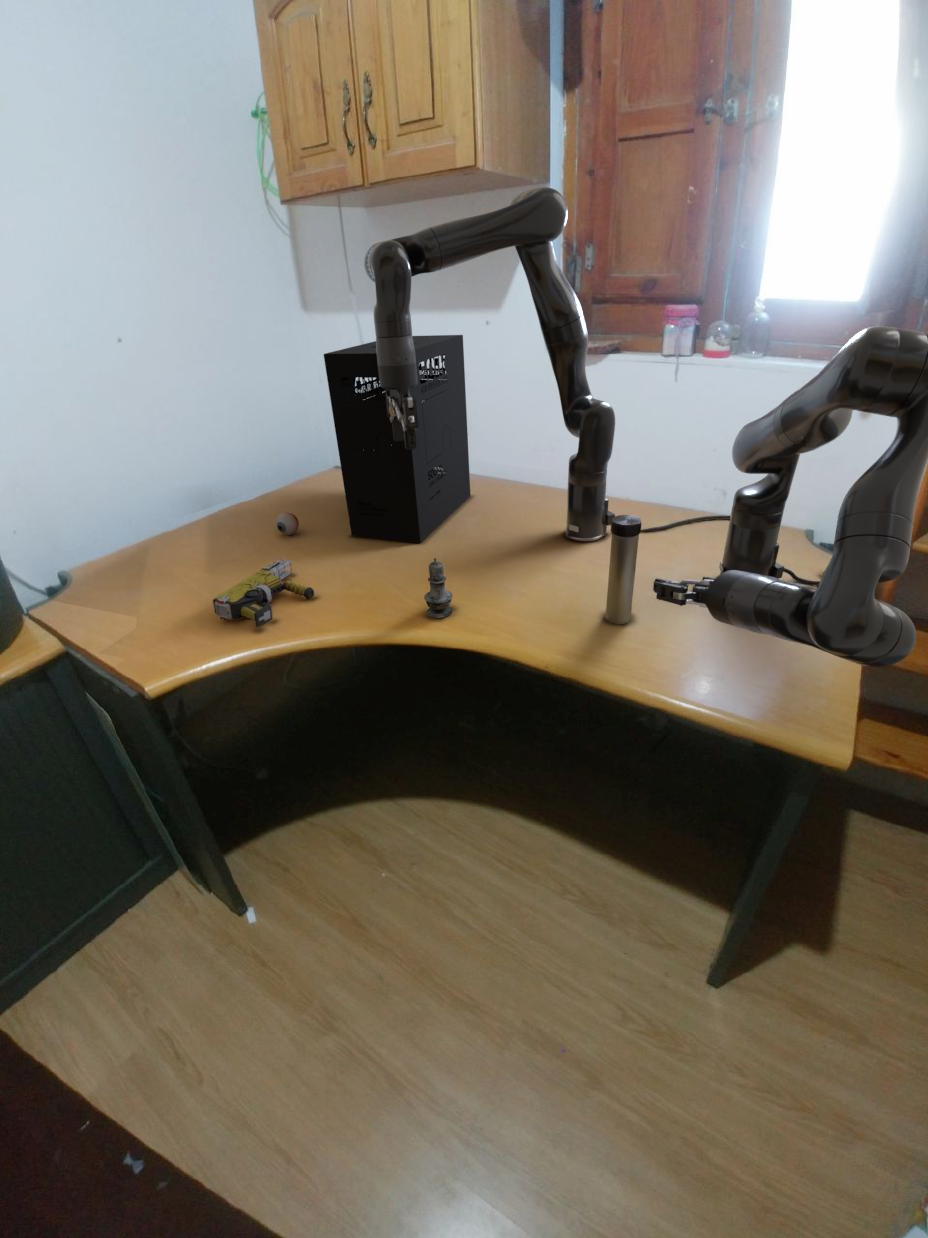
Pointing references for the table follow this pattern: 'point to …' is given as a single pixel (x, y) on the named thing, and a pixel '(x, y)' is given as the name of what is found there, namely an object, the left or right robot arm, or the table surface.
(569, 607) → the table surface
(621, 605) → the metal thermos bottle
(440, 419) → the cardboard box
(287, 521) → the eyeball
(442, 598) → the dark chess piece
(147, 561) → the table surface
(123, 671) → the table surface
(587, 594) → the table surface
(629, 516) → the lid
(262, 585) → the toy gun
